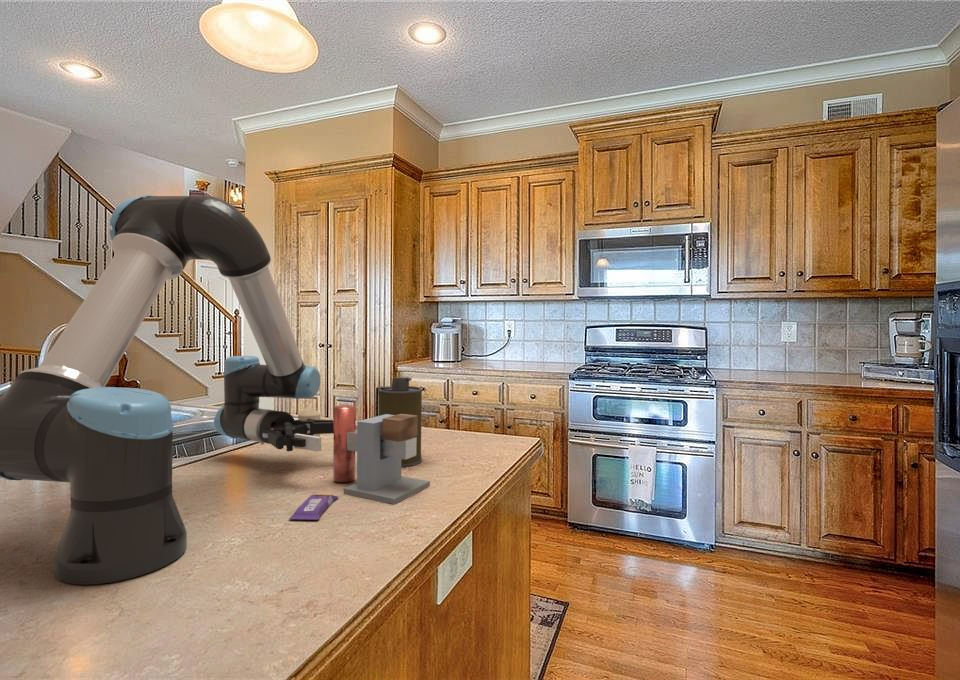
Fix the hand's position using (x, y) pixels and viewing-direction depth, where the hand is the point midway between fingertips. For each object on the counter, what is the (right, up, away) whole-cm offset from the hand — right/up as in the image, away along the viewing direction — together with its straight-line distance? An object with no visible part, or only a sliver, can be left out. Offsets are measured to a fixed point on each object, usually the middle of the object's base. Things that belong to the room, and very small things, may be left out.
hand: (343, 437), depth 108 cm
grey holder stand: (+10, -9, -6) cm, 15 cm away
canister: (+9, -9, +15) cm, 20 cm away
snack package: (-1, -10, -16) cm, 19 cm away
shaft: (+7, -9, -4) cm, 12 cm away
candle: (-16, -8, +28) cm, 33 cm away
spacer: (+13, +1, -7) cm, 15 cm away
